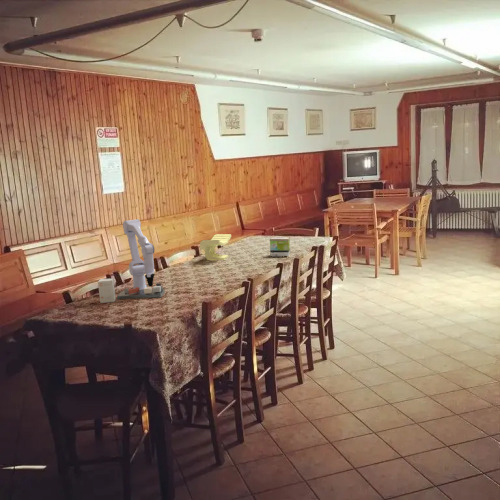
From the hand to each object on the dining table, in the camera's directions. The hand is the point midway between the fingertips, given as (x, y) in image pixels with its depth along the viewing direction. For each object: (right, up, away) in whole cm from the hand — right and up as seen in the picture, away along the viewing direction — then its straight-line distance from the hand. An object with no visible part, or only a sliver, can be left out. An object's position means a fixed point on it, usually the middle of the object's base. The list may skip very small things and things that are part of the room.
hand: (150, 286), depth 326 cm
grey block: (+5, -3, -5) cm, 8 cm away
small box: (-23, -8, -13) cm, 27 cm away
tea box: (+85, +17, +106) cm, 137 cm away
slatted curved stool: (+34, +15, +104) cm, 111 cm away
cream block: (0, -3, -7) cm, 8 cm away
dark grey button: (+5, -1, -1) cm, 5 cm away
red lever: (-10, -4, -7) cm, 12 cm away
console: (-5, -5, -4) cm, 8 cm away
